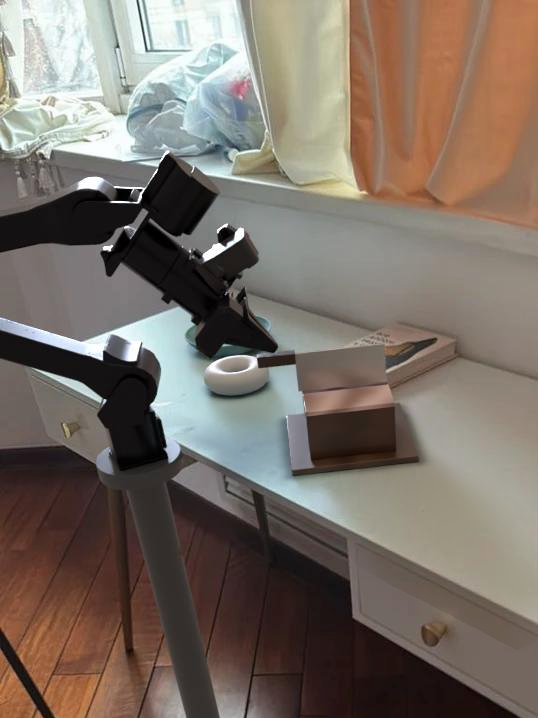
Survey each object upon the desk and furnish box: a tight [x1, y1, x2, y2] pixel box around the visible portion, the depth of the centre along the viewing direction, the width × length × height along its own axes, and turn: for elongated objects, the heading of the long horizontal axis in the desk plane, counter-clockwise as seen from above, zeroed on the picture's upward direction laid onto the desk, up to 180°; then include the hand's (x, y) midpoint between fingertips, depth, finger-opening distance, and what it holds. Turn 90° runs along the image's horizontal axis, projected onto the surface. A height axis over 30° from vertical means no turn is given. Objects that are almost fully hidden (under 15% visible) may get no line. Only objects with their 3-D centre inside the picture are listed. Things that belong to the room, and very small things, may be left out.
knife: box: [256, 342, 388, 392], centre depth 107 cm, size 16×1×5 cm, turn 95°
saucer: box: [183, 314, 273, 357], centre depth 143 cm, size 15×15×3 cm
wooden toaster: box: [286, 378, 420, 476], centre depth 111 cm, size 16×16×7 cm
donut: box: [203, 354, 270, 397], centre depth 129 cm, size 10×4×10 cm
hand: (276, 349), depth 105 cm, fingers closed
